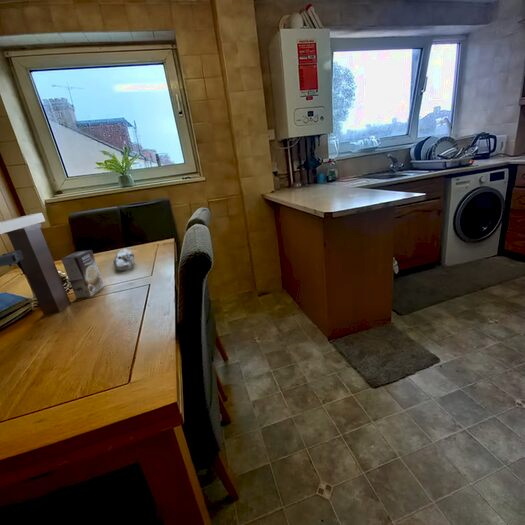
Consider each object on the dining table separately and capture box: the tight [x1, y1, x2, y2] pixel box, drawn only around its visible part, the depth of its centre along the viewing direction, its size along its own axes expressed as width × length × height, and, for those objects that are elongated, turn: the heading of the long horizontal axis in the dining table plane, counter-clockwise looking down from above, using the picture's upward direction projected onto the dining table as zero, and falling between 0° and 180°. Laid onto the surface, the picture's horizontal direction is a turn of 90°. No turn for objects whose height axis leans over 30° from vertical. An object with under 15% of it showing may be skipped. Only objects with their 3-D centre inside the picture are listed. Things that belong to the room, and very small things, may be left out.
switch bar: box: [0, 212, 46, 235], centre depth 86 cm, size 3×20×3 cm, turn 0°
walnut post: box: [3, 223, 72, 315], centre depth 94 cm, size 7×7×30 cm
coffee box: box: [60, 249, 105, 299], centre depth 107 cm, size 9×6×16 cm
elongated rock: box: [113, 248, 135, 271], centre depth 143 cm, size 35×5×10 cm
